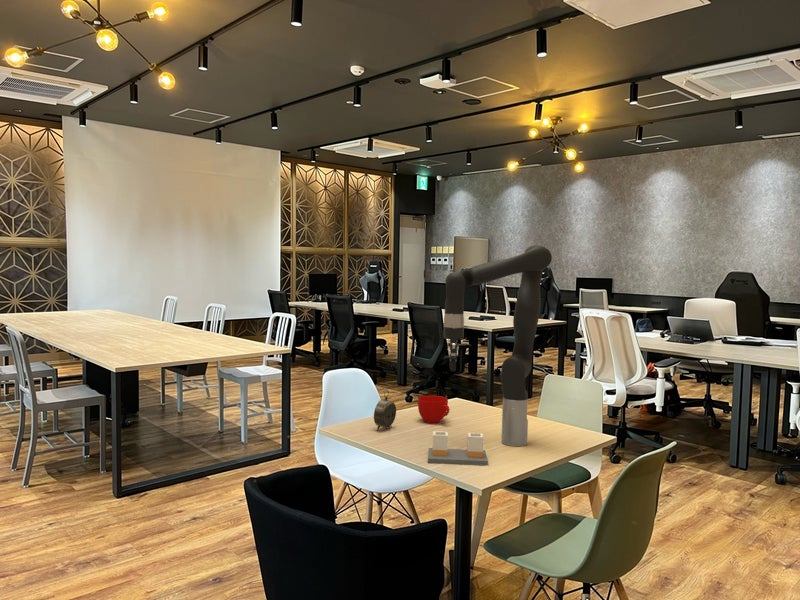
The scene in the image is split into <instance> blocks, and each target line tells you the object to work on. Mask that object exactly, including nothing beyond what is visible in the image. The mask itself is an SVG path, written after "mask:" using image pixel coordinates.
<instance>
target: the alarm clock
mask: <svg viewBox="0 0 800 600" xmlns="http://www.w3.org/2000/svg"><path fill="white" fill-rule="evenodd" d="M386 392H387V396H386ZM389 392H390V391H389V390H388V389H386V390H384V393H383V394H384V395H383V396H384V398H382V399H380V400H379V401H378V402H377V404H376V405H375V408H374V412H373V421H374V424H375V426H377V429H376V431H377V432H378V431H379V429H380V428H386V429H387V428H388V430H389V431H390V430H391V426H392V425H393V423H394V422H395V419H396V416H397V407H396V406H397V405H396V403H395V401H392V400H389V399H388V397H389V394H390V393H389Z"/></svg>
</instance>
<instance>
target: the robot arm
mask: <svg viewBox="0 0 800 600" xmlns="http://www.w3.org/2000/svg"><path fill="white" fill-rule="evenodd" d="M552 258H553V257H552V252H551V251H550V250H549V249H548V248H547V247H546V246H543V245H538V244H537V245H536V244H534V245H530V246H529V247H527V248H526V249H525V250H524V252H523V253H521V254H519V255H516V256H512V257H508V258H503V259H497V260H493V261H489V262H485V263H482V264H478V265H474V266H472V267H470V268H467V269H466V268H465V269H462V270H458V271H454V272H450V273H449V274H447V275H446V277H445V281H444V282H445V286H446V287H445V289H446V290H445V297H446V299H445V302H444V316H443V339H446V340H449V341H448V342H447V349H448V357H449V372H456V371H457V362H458V361H457V360H458V355H459V348H460V346H459V345H460V344H459V343H457V342H458V340H463V339H464V337H465V335H464V334H465V328H464V327H465V316H464V314H465V313H464V311H465V309H464V308H465V306H464V305H465V304H464V303H465V302H464V298H465V289H466V288H468V287H472V286H477V285H482V284H486V283H489V282H492V281H496V280H499V279H503V278H505V277H509V276H512V275H516V274H521V279H520V284H519V288H518V292H517V297H516V302H515V305H514V306H515V307H514V312H513V319H512V320H513V321H512V326H513V332H514V343H513V347H512V348H513V349H512V353H511V356H509V357H507V358H506V359H505V360H504V361H502V364H501V369H500V370H501V373H500V374H501V375H500V376H501V378H500V379H501V380H500V381H501V386H500V387H501V392H502V411H501V412H502V413H501V414H502V415H501V417H502V418H501V444H503V445H505V446H506V445H507V446H510V447H523V446H528V431H529V429H528V427H529V421H528V403H529V402H528V397H529V392H528V390H527V389H526V378H527V377H528V376H529V375H530V373H531V371H532V363H533V349H534V342H535V338H536V333H537V330H538V329H537V328H538V323H539V319H540V314H541V306H542V305H541V303H542V299H541V281H542V277H543V272H544V270H545V269H547V268H549V266H550V264H551V263H552V260H553V259H552Z"/></svg>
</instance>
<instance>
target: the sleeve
mask: <svg viewBox="0 0 800 600" xmlns="http://www.w3.org/2000/svg"><path fill="white" fill-rule="evenodd" d="M448 436H449V434H448V431H435V430H433V431H432V448H433V455H435V456H447V449H448V446H449V445H448V443H449V441H448V440H449V437H448Z"/></svg>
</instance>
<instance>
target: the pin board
mask: <svg viewBox="0 0 800 600" xmlns="http://www.w3.org/2000/svg"><path fill="white" fill-rule="evenodd" d="M427 453H428V455H427V463H428V464H441V463H444V465H445V464H447V465H463V464H464V466H465V465H468V466H470V465H471V466H485V465H488V466H489V460H488V455H487V451H486V450H484V434H483V433H482V432H481V433H478V432H467V448H466V449H464V448H463V449H462V448H461V449H459V448H458V449H457V448H447V456H435V455H433V447H428V452H427Z"/></svg>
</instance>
